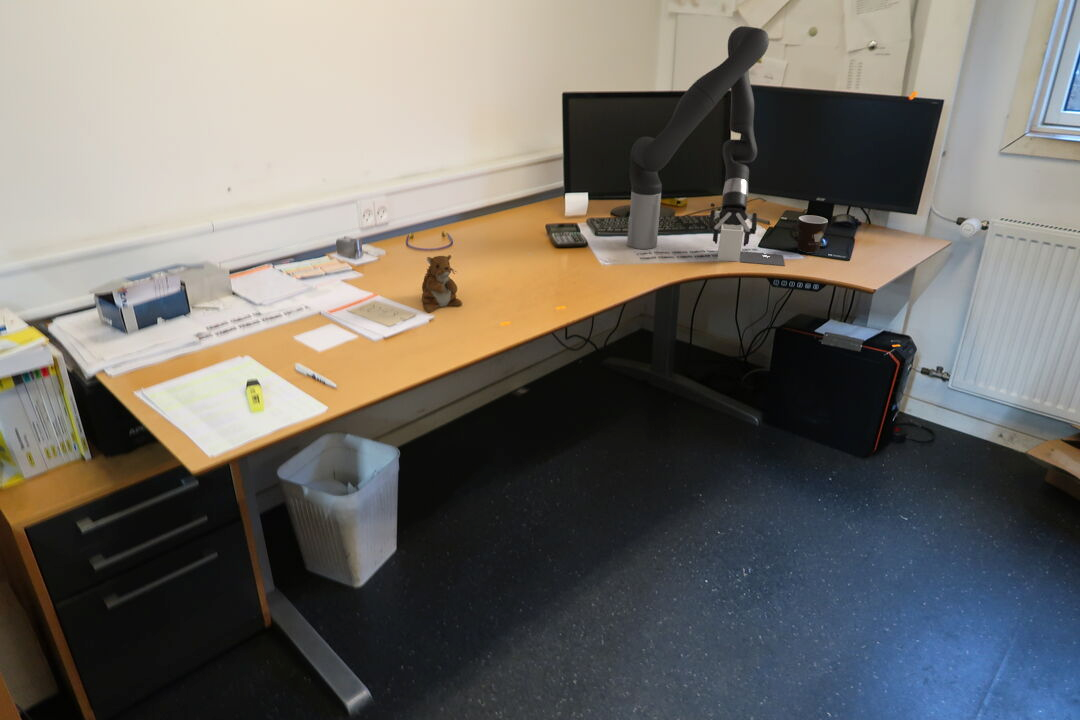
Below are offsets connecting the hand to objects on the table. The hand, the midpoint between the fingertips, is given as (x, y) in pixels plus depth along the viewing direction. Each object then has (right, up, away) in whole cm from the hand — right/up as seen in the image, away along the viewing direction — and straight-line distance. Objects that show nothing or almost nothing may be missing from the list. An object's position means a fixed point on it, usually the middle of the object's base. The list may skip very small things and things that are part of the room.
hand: (730, 243), depth 225 cm
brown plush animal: (-84, -20, -30) cm, 92 cm away
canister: (0, -4, +3) cm, 5 cm away
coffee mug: (+26, -1, +10) cm, 28 cm away
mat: (+10, -4, +2) cm, 11 cm away
